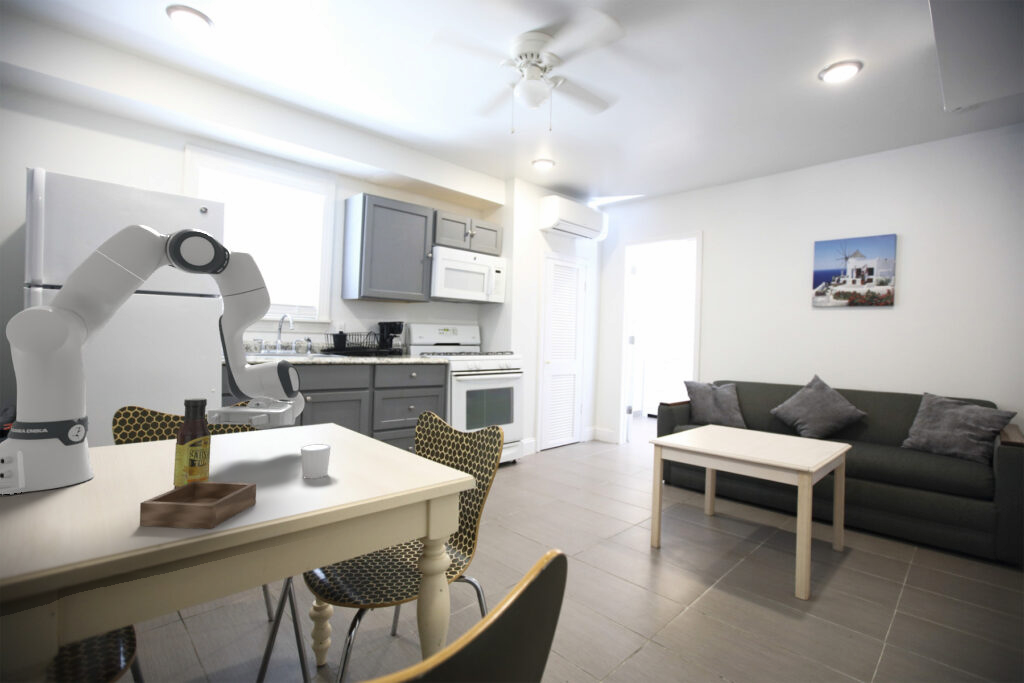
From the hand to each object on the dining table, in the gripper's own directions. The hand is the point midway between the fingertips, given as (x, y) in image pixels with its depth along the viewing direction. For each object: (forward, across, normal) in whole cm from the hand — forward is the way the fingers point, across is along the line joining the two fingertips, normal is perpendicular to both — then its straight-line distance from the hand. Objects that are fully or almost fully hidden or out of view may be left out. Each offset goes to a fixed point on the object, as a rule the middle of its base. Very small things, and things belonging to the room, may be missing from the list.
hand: (231, 421), depth 114 cm
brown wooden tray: (+25, +11, +13) cm, 30 cm away
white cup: (-2, +20, +14) cm, 24 cm away
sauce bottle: (+13, 0, +13) cm, 18 cm away
